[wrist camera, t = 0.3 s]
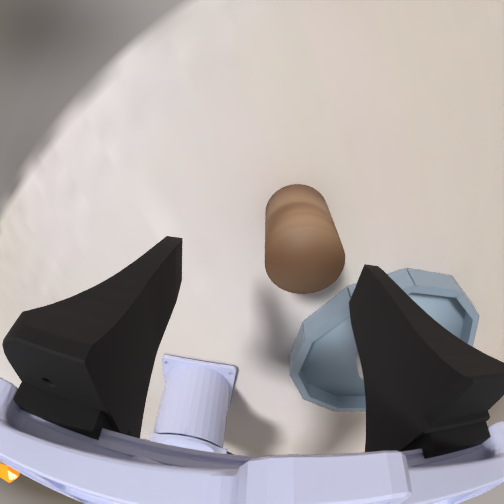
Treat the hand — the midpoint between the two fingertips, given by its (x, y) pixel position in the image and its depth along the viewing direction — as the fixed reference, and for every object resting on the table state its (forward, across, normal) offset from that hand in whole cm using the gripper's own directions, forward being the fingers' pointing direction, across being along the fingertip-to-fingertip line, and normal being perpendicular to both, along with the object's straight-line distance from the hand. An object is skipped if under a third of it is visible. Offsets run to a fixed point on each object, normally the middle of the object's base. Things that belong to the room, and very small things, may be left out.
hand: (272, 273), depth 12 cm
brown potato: (+10, -2, +2) cm, 11 cm away
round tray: (+10, -15, +15) cm, 24 cm away
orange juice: (+11, +89, +125) cm, 154 cm away
